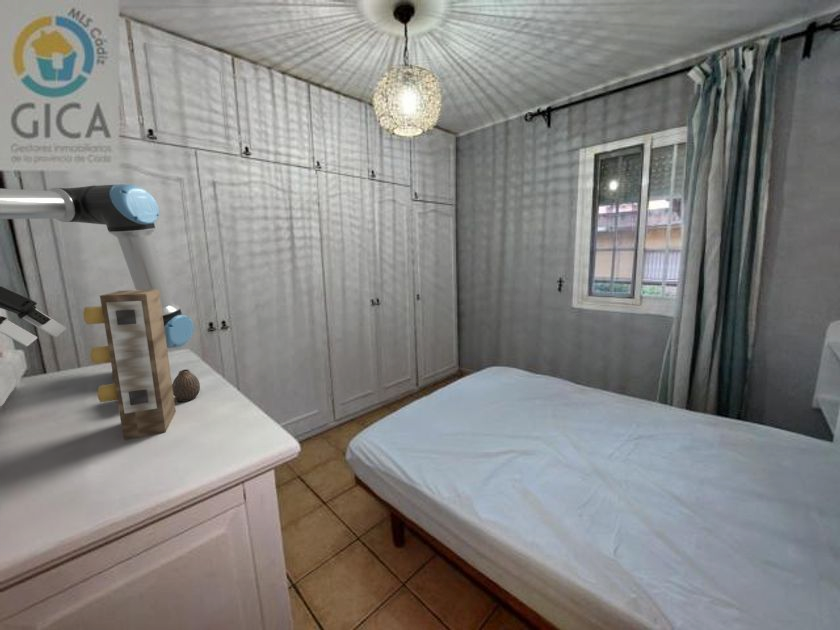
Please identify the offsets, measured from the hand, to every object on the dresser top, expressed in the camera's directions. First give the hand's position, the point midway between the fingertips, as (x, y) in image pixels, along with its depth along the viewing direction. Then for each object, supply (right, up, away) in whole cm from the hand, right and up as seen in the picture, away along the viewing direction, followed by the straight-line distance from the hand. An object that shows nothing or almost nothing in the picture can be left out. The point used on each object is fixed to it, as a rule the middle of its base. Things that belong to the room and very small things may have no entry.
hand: (46, 337), depth 78 cm
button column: (+19, -23, +7) cm, 30 cm away
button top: (+13, +3, 0) cm, 13 cm away
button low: (+13, -15, +3) cm, 20 cm away
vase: (+17, -20, +23) cm, 35 cm away
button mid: (+13, -6, +1) cm, 14 cm away
